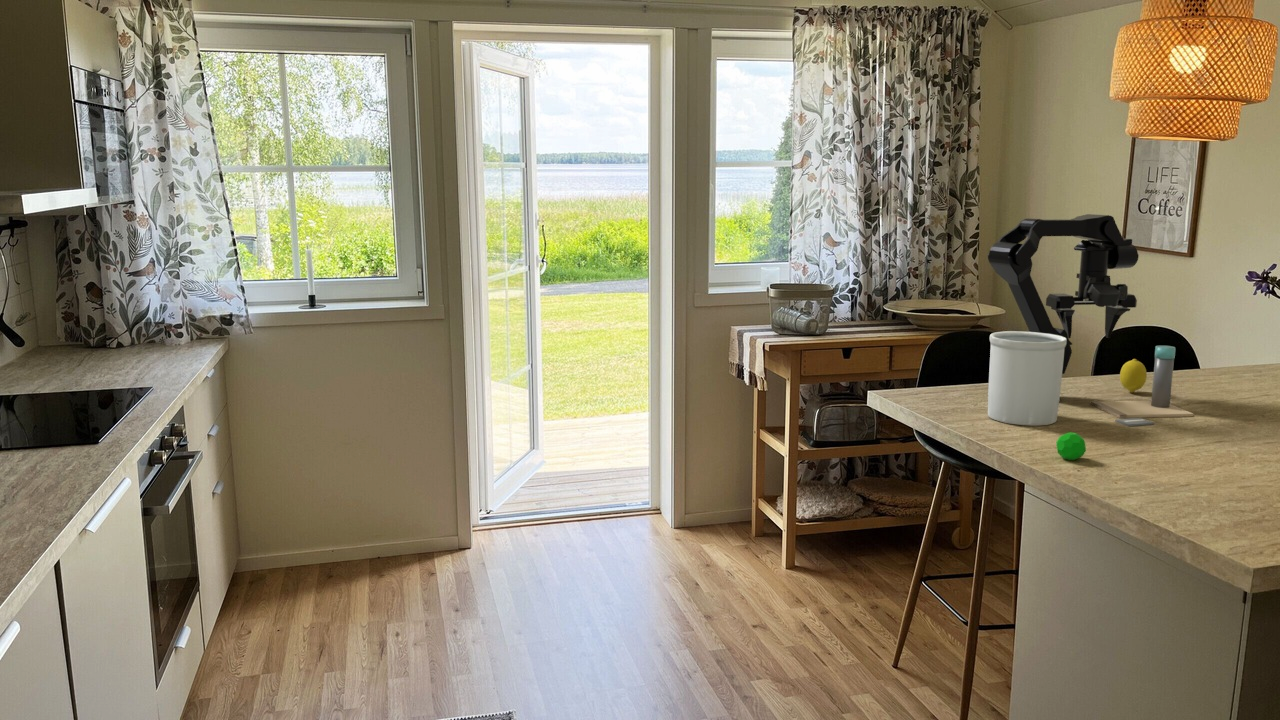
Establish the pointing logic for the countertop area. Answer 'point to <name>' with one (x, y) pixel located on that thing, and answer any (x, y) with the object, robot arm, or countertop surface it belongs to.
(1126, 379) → the lemon
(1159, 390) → the marker
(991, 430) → the countertop surface
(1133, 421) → the word tile
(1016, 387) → the utensil holder
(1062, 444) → the polyhedron
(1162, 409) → the notepad
